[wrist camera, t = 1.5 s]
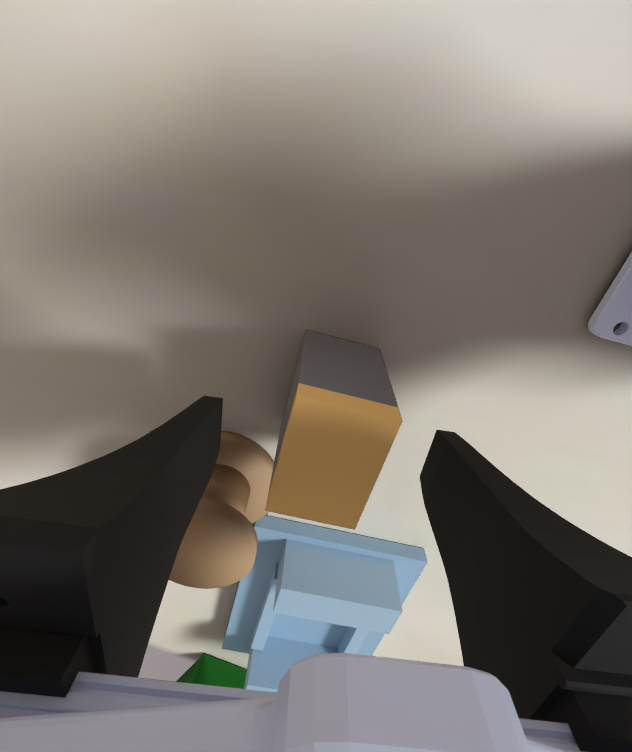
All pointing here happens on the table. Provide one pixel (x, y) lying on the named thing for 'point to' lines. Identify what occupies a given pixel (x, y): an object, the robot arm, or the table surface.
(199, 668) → the soya milk
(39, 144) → the table surface
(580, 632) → the robot arm
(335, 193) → the table surface
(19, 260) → the table surface
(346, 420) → the orange and grey block
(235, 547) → the bobbin
